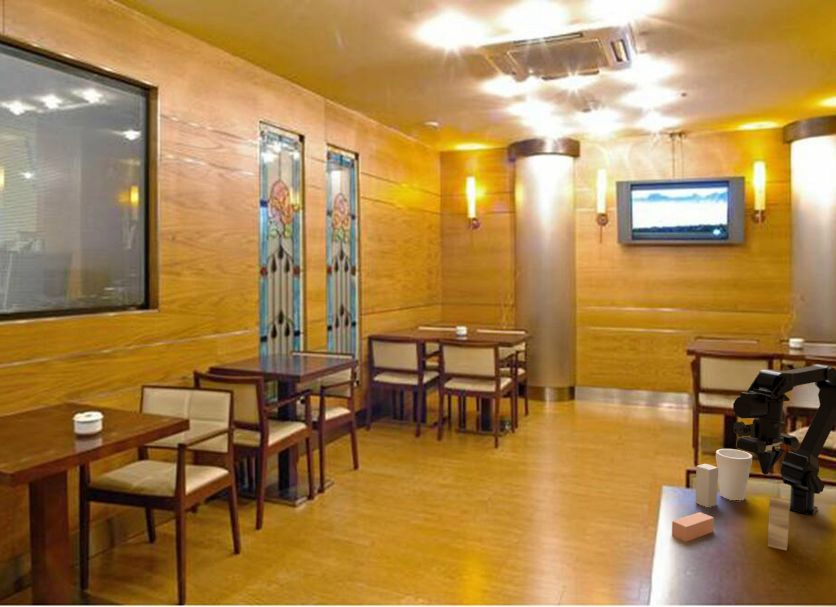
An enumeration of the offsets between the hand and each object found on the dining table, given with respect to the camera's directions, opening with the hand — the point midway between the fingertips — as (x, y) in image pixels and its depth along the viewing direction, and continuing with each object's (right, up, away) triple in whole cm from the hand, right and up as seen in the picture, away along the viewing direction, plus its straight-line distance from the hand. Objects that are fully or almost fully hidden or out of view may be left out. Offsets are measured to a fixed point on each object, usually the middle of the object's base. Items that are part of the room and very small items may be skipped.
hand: (765, 473), depth 170 cm
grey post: (-12, -11, +9) cm, 19 cm away
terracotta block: (-19, -11, -7) cm, 23 cm away
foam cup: (-2, -11, +15) cm, 18 cm away
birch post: (-6, -13, -16) cm, 22 cm away
